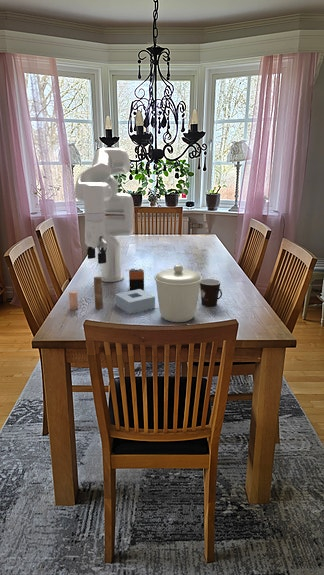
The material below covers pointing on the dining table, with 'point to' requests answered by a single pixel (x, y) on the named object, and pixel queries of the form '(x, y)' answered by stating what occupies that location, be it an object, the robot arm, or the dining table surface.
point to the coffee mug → (210, 292)
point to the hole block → (134, 301)
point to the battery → (136, 279)
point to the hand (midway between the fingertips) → (96, 260)
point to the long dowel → (98, 292)
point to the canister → (177, 293)
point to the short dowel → (73, 300)
